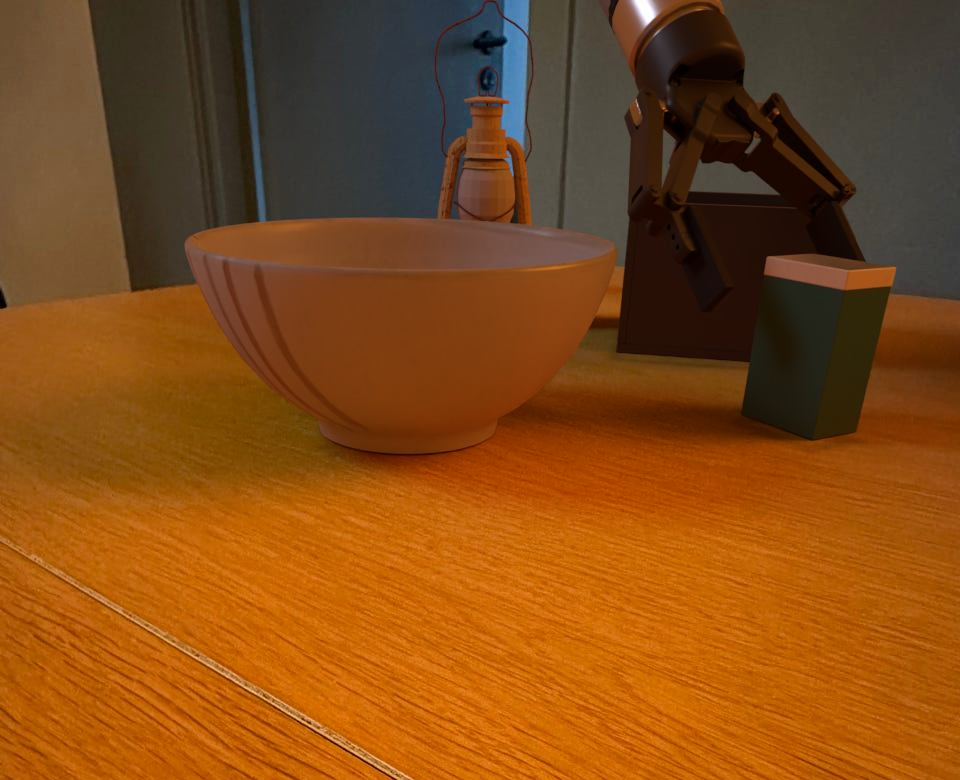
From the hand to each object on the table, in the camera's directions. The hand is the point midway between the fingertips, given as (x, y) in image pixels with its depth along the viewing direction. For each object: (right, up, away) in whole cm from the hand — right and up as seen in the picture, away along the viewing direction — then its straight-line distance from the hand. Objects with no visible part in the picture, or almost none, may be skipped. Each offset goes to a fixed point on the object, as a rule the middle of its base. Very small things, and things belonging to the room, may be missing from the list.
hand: (790, 294), depth 63 cm
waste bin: (+1, +6, +27) cm, 28 cm away
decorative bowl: (-27, -10, -1) cm, 29 cm away
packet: (+1, -9, +2) cm, 9 cm away
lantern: (-22, +19, +50) cm, 58 cm away
